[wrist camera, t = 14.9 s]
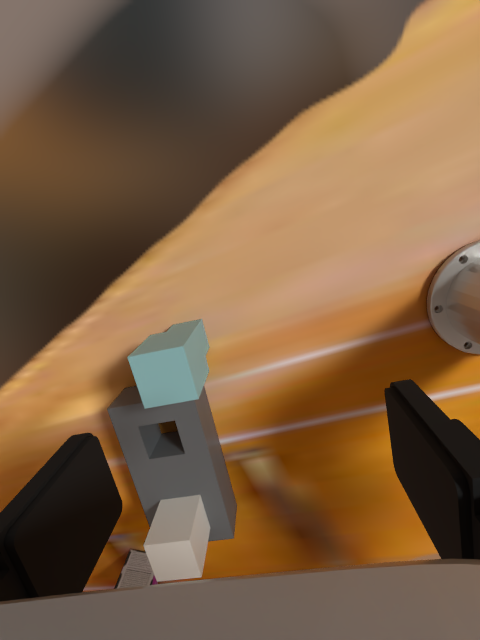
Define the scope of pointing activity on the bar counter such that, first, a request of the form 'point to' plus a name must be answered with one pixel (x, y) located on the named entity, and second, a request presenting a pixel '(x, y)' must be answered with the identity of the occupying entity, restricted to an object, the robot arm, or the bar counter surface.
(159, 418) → the block
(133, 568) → the candy bar box
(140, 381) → the teal plug
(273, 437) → the bar counter surface
